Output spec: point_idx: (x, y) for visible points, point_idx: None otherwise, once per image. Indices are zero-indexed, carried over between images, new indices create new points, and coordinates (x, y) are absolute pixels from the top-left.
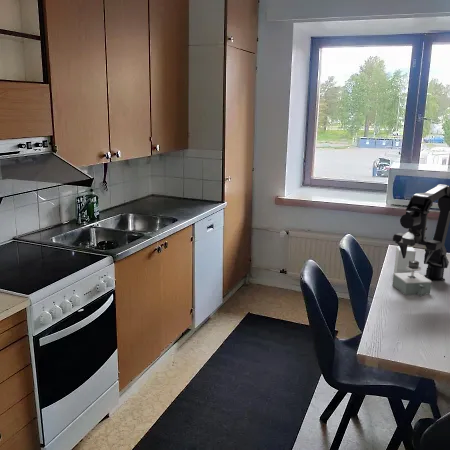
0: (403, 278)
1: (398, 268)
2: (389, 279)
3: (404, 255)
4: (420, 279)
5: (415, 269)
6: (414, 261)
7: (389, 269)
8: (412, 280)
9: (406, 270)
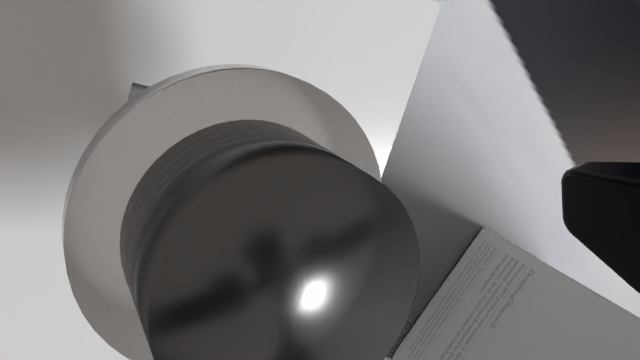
0: None
1: (540, 277)
2: (468, 102)
3: (634, 218)
4: (19, 221)
5: (85, 172)
6: (312, 330)
7: (604, 282)
8: (21, 26)
9: (475, 343)
